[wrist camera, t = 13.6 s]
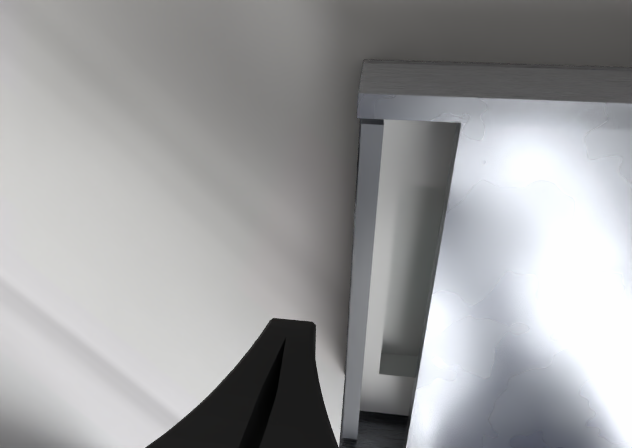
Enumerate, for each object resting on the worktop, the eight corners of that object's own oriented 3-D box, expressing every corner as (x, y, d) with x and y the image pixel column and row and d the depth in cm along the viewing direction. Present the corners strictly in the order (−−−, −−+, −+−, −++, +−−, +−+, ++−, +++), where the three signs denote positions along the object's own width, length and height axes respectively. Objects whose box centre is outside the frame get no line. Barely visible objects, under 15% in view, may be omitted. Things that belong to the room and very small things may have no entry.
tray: (594, 401, 20) (629, 470, 17) (347, 376, 21) (342, 437, 18) (727, 109, 14) (817, 144, 11) (364, 96, 15) (361, 123, 12)
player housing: (599, 402, 21) (657, 512, 17) (345, 376, 22) (337, 473, 18) (754, 71, 14) (926, 114, 9) (363, 59, 15) (358, 93, 11)
